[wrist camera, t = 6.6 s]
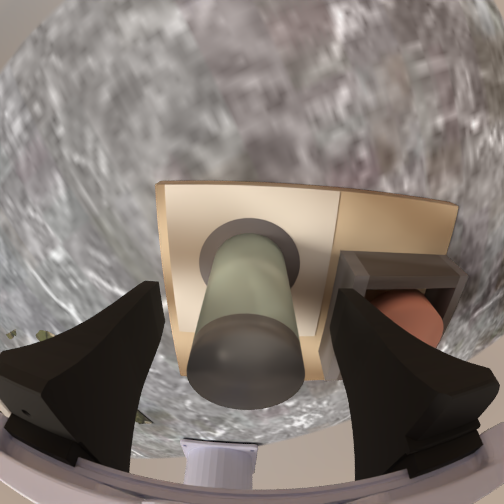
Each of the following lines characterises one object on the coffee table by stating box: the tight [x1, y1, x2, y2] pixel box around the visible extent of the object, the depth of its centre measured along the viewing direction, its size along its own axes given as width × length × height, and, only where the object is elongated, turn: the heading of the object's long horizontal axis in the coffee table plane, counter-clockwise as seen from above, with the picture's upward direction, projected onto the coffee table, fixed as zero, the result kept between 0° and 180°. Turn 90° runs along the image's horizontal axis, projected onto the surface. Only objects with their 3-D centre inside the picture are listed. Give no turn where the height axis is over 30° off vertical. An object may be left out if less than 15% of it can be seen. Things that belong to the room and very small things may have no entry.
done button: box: [370, 289, 443, 348], centre depth 13 cm, size 5×5×2 cm
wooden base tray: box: [155, 181, 469, 381], centre depth 15 cm, size 13×16×3 cm
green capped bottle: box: [186, 233, 305, 410], centre depth 11 cm, size 4×4×7 cm
